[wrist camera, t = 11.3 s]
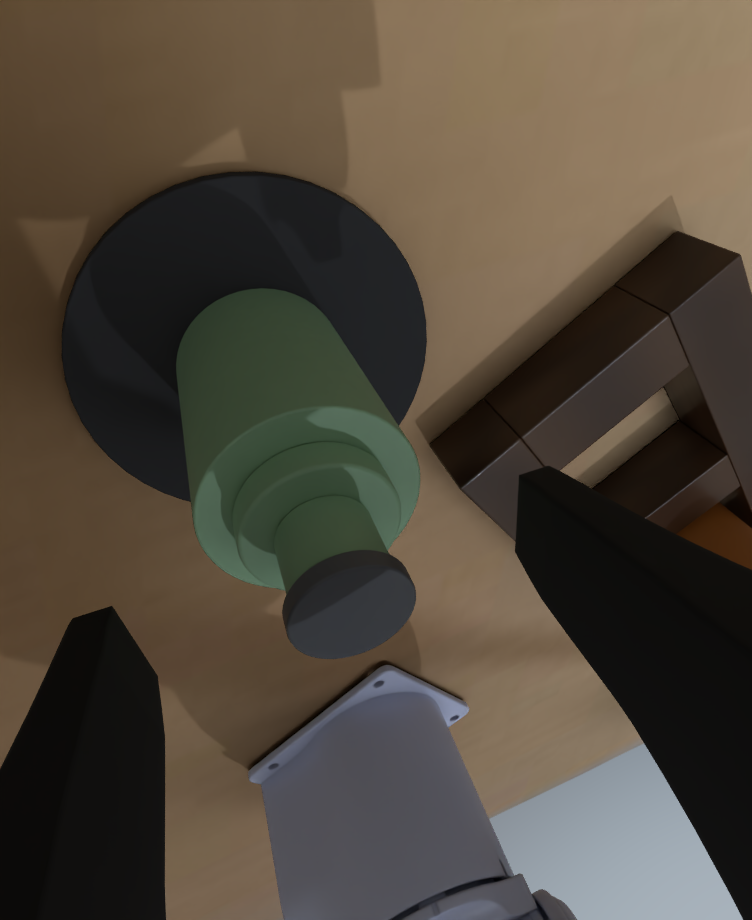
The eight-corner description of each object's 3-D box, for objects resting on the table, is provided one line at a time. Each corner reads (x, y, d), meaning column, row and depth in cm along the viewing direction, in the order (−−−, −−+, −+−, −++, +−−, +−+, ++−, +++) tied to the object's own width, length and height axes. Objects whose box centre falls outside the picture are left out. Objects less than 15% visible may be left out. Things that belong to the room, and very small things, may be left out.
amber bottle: (636, 566, 30) (785, 727, 23) (605, 527, 27) (765, 697, 20) (711, 509, 29) (889, 659, 22) (687, 463, 26) (884, 618, 19)
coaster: (261, 543, 21) (264, 552, 20) (-27, 375, 14) (-31, 384, 14) (477, 352, 19) (484, 359, 18) (256, 67, 13) (260, 68, 12)
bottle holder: (608, 620, 32) (640, 659, 30) (428, 444, 20) (459, 489, 19) (773, 499, 30) (817, 532, 28) (677, 229, 19) (741, 253, 17)
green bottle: (314, 446, 18) (420, 695, 11) (162, 425, 16) (180, 714, 9) (363, 310, 16) (528, 516, 9) (194, 267, 14) (248, 491, 7)
